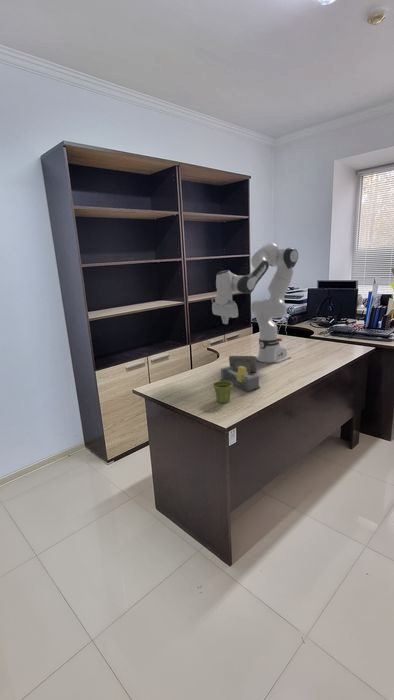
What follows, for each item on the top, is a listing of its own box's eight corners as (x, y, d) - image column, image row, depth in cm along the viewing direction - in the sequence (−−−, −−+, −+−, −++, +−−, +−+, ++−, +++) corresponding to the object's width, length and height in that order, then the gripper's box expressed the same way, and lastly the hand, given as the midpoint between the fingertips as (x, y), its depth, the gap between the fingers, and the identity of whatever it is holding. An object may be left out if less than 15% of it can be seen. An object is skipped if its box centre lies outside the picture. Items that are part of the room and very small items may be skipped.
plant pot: (222, 406, 161) (221, 389, 158) (209, 400, 168) (208, 384, 166) (237, 401, 166) (236, 384, 164) (224, 395, 173) (223, 379, 171)
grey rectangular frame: (219, 380, 194) (219, 369, 192) (232, 376, 199) (232, 365, 197) (247, 392, 175) (246, 380, 174) (260, 387, 180) (260, 376, 178)
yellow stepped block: (236, 380, 185) (236, 367, 183) (243, 378, 187) (242, 365, 185) (241, 382, 181) (241, 369, 180) (248, 380, 184) (247, 367, 182)
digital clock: (258, 371, 205) (258, 354, 202) (253, 376, 197) (253, 358, 194) (232, 369, 212) (232, 352, 209) (227, 373, 204) (226, 356, 201)
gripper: (240, 300, 190) (241, 325, 194) (218, 298, 207) (219, 320, 210) (231, 301, 187) (232, 327, 190) (209, 299, 204) (210, 322, 207)
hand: (225, 323), depth 201 cm, fingers closed
